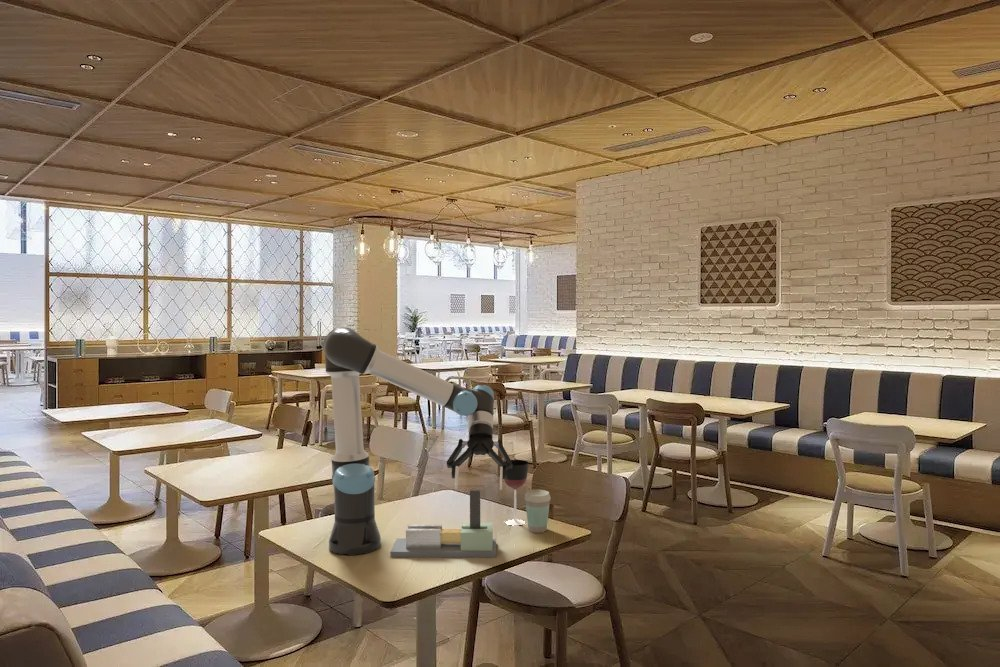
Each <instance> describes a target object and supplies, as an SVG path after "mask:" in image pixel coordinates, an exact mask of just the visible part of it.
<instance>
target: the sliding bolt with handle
mask: <svg viewBox="0 0 1000 667" xmlns="http://www.w3.org/2000/svg"><path fill="white" fill-rule="evenodd" d="M469 523H470V529H480V523H481V489H469ZM461 529H462V528H442V529H441V544H461Z"/></svg>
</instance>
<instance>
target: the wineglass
mask: <svg viewBox="0 0 1000 667" xmlns="http://www.w3.org/2000/svg"><path fill="white" fill-rule="evenodd" d="M510 460H511V461H512V469H507V470H506V479H503V482H504V484H505V485H506V486H508V487H509V488H511V489H513V518H512V520H510V519H507V520H508V521H506V520H505V521H506V522H505V521H504V522H505V523H506V524H507V525H506V526H508V525H512V526H511V527H515V526H514V525H522V524H525V520H524V521H523V519H520V518H519V519H520V520H519V519H518V518H517V489H519V488H521V487H523V486H524V485H525V484H526V482H527V477H528V472H529V461H527V460H523V459H510ZM503 461H504V460H503ZM504 462H505V461H504ZM505 463H506V462H505ZM525 525H526V524H525Z"/></svg>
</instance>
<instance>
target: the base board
mask: <svg viewBox="0 0 1000 667" xmlns="http://www.w3.org/2000/svg"><path fill="white" fill-rule="evenodd" d="M389 557H390V558H497V538H493V546H492V551H461V544H442V545H441V548H406V537H405V538H396V539H395V541H394V543H393V545H392V547H391V550H390V556H389Z"/></svg>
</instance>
